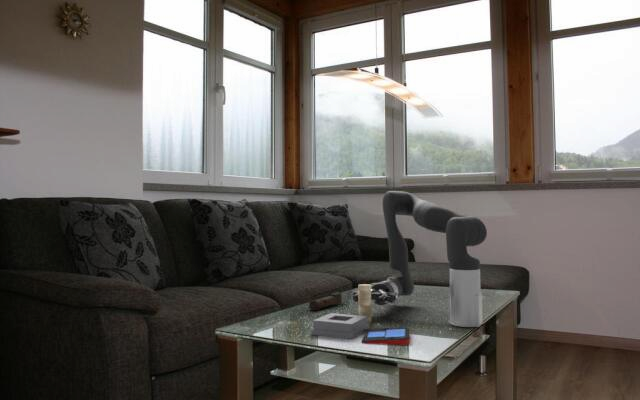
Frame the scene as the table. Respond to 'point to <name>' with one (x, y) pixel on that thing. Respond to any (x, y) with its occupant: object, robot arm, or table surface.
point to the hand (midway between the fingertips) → (367, 299)
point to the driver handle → (364, 301)
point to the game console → (387, 336)
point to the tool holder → (340, 325)
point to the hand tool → (326, 301)
